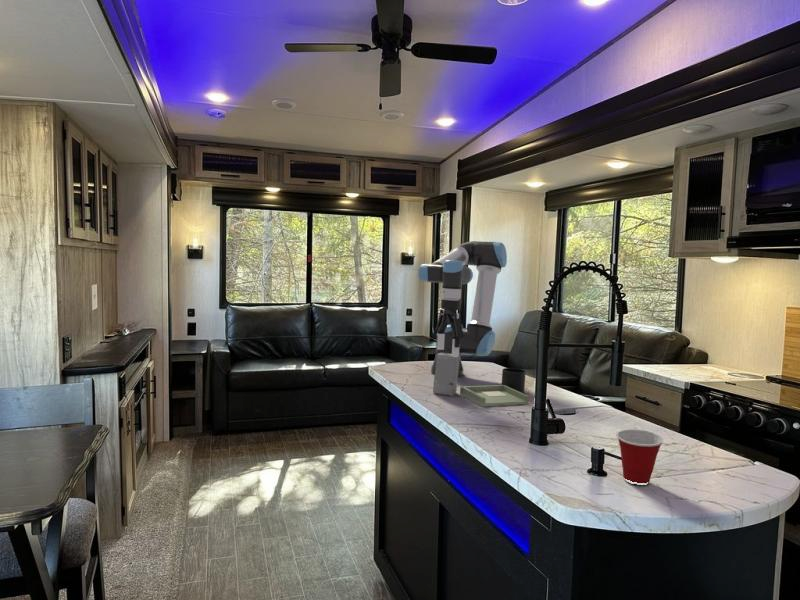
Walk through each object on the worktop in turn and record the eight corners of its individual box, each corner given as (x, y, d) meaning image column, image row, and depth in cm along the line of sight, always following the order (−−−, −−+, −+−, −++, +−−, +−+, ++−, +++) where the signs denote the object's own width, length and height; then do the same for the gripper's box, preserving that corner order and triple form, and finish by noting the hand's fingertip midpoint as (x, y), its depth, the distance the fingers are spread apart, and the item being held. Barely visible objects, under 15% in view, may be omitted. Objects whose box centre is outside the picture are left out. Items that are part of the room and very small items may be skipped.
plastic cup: (603, 476, 137) (606, 430, 136) (632, 470, 142) (636, 426, 141) (638, 493, 127) (642, 444, 126) (669, 487, 132) (673, 439, 131)
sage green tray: (460, 394, 214) (460, 386, 214) (503, 392, 221) (503, 384, 221) (482, 406, 197) (482, 398, 197) (528, 404, 204) (529, 396, 204)
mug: (514, 387, 232) (516, 366, 231) (528, 394, 220) (529, 372, 219) (494, 387, 229) (496, 366, 228) (507, 394, 218) (508, 372, 217)
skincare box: (432, 393, 213) (434, 354, 212) (438, 389, 220) (440, 351, 219) (453, 396, 210) (455, 356, 209) (458, 392, 217) (460, 354, 215)
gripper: (429, 296, 222) (426, 347, 224) (456, 301, 199) (453, 358, 200) (445, 297, 225) (442, 347, 226) (474, 302, 202) (470, 358, 203)
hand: (447, 352), depth 213 cm, fingers open, 13 cm apart
